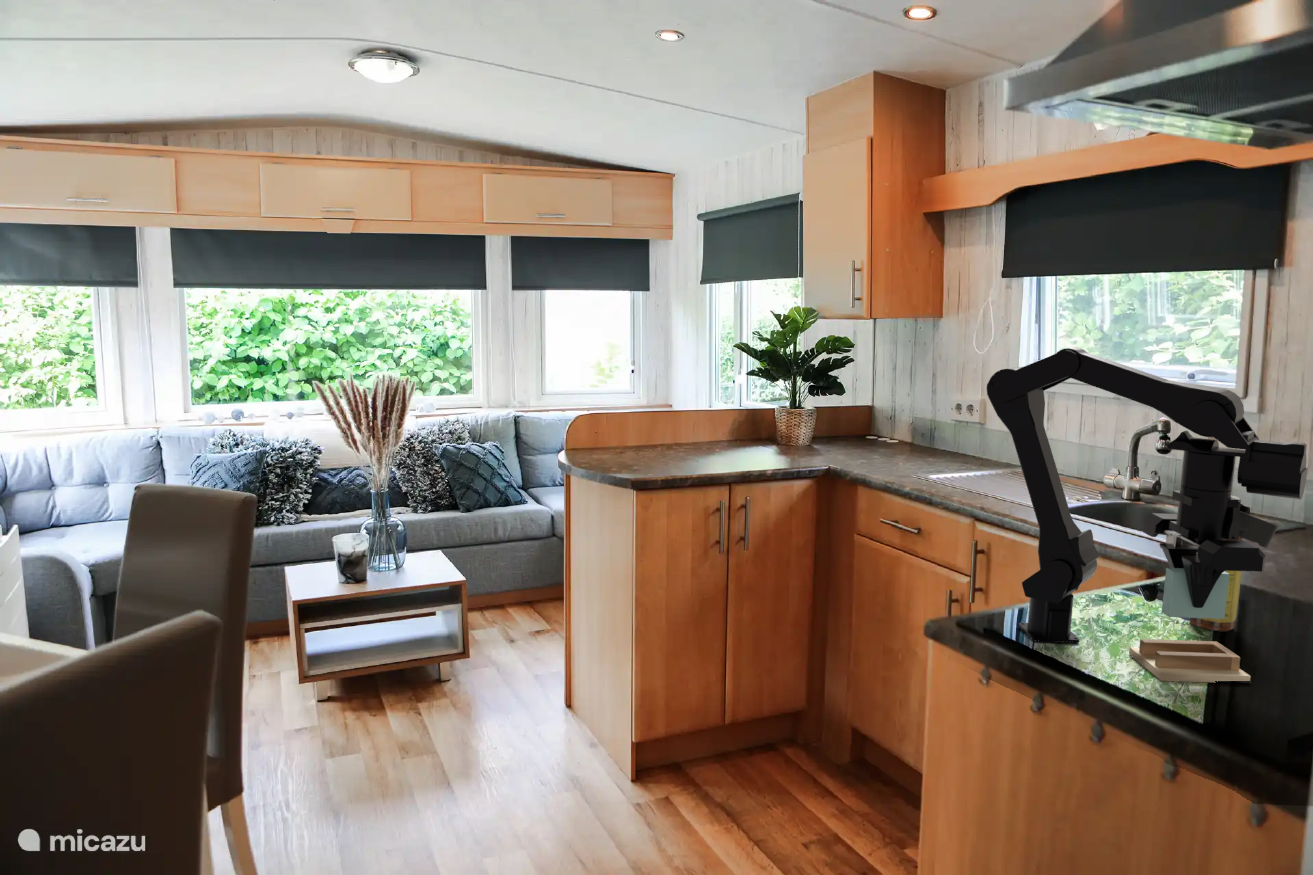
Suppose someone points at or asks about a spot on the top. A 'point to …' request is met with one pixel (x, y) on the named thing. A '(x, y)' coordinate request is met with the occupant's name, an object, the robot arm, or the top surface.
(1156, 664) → the track board
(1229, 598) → the sauce bottle
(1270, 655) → the top surface
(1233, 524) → the robot arm
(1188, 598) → the slider block
